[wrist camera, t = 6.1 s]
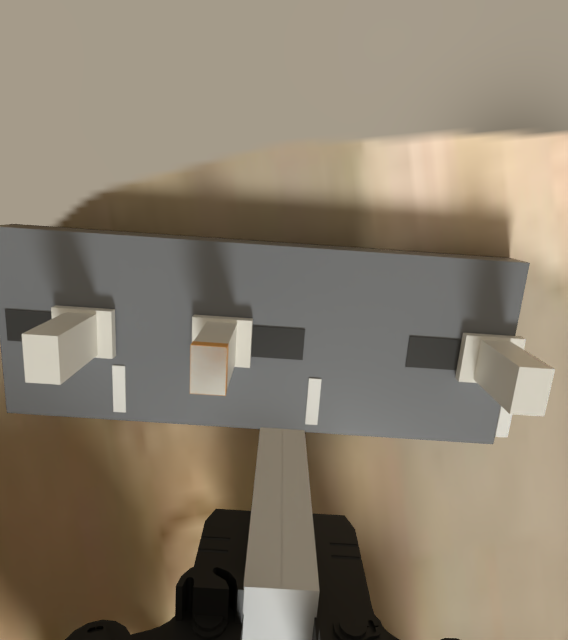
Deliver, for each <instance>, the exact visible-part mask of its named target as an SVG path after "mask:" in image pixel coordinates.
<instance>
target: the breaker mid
mask: <svg viewBox="0 0 568 640" xmlns="http://www.w3.org/2000/svg"><path fill="white" fill-rule="evenodd" d="M252 327H253V318H238V317H223V316H208V315H193V317H192V343H191V346H190V394H204V395H219V396H226V393H227V388H228V385H229V382H230V379H231V376H232V373H233V370H234V367H243V368H250V365H251V346H252Z"/></svg>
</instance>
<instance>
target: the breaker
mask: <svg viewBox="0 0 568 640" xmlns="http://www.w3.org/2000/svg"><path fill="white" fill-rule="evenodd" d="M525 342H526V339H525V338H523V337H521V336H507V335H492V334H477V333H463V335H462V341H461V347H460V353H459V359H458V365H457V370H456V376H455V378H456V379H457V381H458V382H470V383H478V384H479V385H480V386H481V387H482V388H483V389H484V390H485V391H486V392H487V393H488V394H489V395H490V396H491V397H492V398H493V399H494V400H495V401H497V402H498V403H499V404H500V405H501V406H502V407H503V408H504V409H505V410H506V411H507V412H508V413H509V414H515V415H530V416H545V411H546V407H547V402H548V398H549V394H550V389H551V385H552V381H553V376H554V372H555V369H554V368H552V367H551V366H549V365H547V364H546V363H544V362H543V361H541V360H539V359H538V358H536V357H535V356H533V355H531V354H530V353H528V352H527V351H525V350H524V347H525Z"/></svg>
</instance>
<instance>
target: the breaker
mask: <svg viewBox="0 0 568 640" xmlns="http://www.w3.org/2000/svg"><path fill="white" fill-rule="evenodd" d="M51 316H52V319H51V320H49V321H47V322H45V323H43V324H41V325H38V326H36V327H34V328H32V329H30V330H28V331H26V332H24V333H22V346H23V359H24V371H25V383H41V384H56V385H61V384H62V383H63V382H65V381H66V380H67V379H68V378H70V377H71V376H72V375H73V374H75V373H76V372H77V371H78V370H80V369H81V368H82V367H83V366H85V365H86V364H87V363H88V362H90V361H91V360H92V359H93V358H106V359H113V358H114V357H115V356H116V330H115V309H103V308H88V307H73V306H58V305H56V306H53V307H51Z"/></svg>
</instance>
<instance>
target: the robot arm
mask: <svg viewBox="0 0 568 640" xmlns="http://www.w3.org/2000/svg"><path fill="white" fill-rule="evenodd" d="M65 640H399V639H397V638H396V637H394V636H393V635H391V634H390V633H389V632H387V631H386V630H385V629H384V627H383V626H382V624H381V621H380V620H379V619H378V618H377V617H376V616H375V615H374V612H373V609H372V605H371V601H370V596H369V592H368V587H367V583H366V578H365V573H364V569H363V564H362V560H361V555H360V550H359V547H358V541H357V537H356V532H355V529H354V527H353V526H352V525H351V523H350V522H349V521H348V520H347V518H346V517H345V516H342V515H326V514H312V504H311V493H310V482H309V471H308V460H307V450H306V439H305V430H294V429H278V428H263V427H260V433H259V443H258V452H257V462H256V471H255V481H254V490H253V500H252V509H251V511H241V510H225V509H215V511H214V512H213V513H212V514H211V515H210V516H209V517H208V519H207V520H206V521H205V524H204V528H203V532H202V536H201V540H200V544H199V548H198V552H197V556H196V560H195V564H194V567H192V568H190V569H189V570H188V571H187V572H185V573H184V574H183V575H182V576H181V578H180V580H179V581H178V583H177V585H176V612H175V617H173V618H172V619H171V620H170V621H169V622H167V623H165V624H164V625H162V626H160V627H157V628H154V629H152V630H148V631H144V632H140V633H136V634H132V635H130V633H129V632H128V630H127V628H126V627H125V626H123V625H121V624H120V623H118V622H116V621H109V620H100V621H95V622H91V623H88V624H86V625H84V626H82V627H80V628H79V629H77V630H75V631H74V632H73V633H72V634H70V635H69V636H68V637H67V638H66V639H65ZM441 640H460V639H456V638H444V639H441Z"/></svg>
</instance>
